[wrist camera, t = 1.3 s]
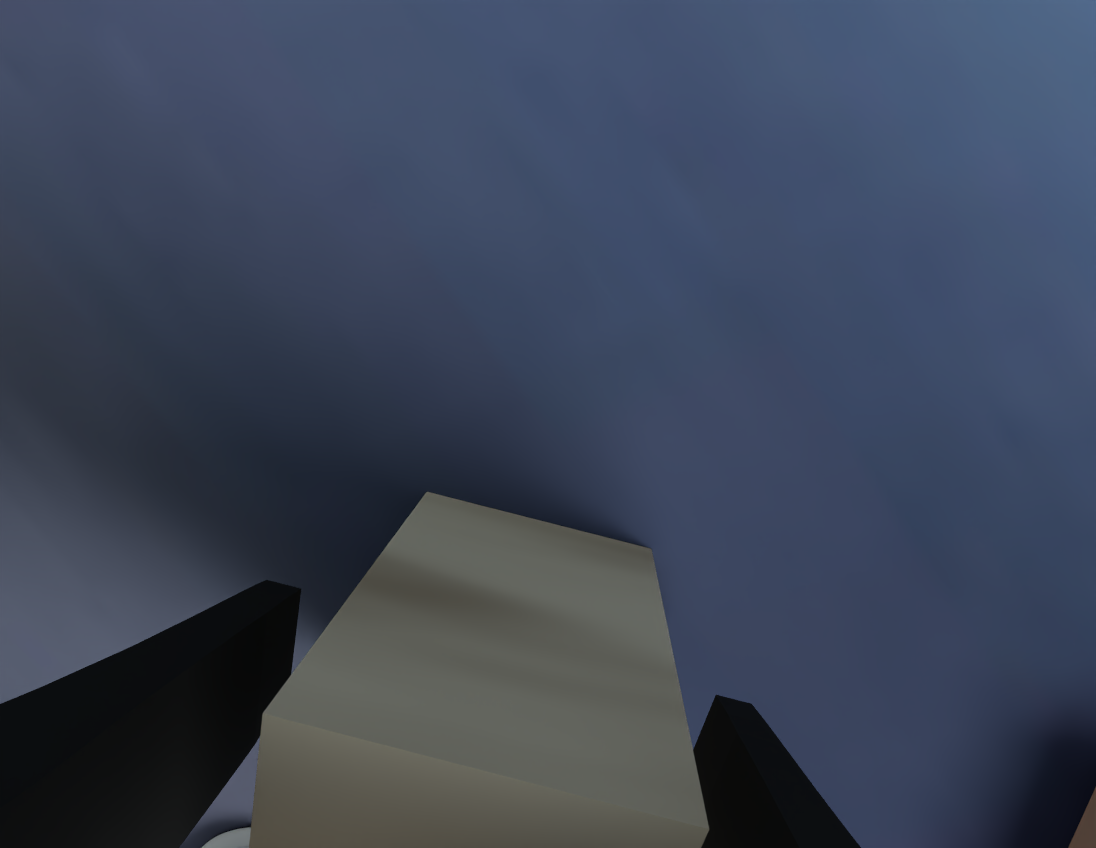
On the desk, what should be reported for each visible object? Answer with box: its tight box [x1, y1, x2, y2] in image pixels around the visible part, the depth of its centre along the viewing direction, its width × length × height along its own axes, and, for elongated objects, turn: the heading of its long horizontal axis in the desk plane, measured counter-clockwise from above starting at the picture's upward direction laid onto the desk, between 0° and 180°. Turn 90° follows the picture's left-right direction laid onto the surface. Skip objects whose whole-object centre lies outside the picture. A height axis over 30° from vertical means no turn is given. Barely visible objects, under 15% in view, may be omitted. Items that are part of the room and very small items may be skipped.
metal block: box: [249, 492, 709, 848], centre depth 9 cm, size 4×4×6 cm
